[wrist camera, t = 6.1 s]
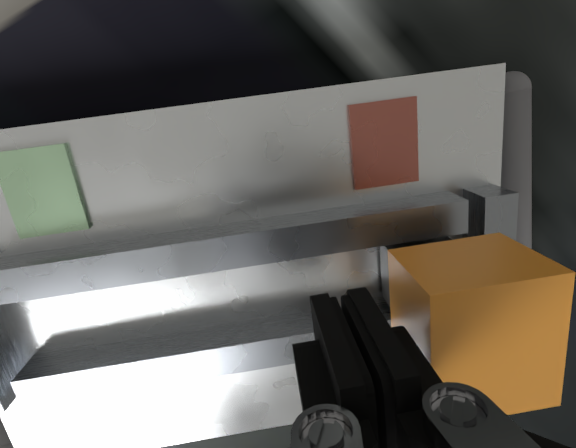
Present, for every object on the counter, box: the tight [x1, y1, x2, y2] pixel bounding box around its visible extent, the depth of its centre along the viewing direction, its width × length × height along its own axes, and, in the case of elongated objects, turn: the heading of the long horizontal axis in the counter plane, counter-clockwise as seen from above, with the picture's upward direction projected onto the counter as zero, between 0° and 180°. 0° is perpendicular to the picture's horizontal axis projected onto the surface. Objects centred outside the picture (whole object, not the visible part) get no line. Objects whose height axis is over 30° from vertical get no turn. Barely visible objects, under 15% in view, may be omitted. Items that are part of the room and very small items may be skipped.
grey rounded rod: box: [501, 71, 532, 249], centre depth 17 cm, size 13×1×1 cm, turn 11°
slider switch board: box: [0, 63, 519, 448], centre depth 16 cm, size 14×21×4 cm, turn 97°
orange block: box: [380, 232, 575, 415], centre depth 13 cm, size 4×4×6 cm
